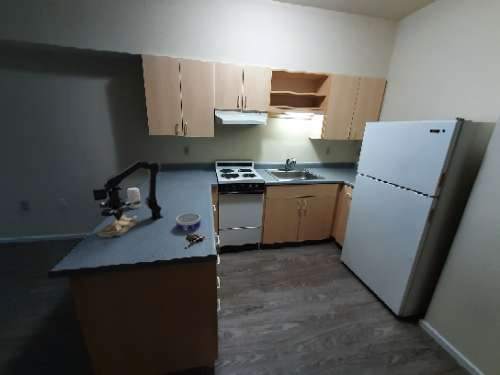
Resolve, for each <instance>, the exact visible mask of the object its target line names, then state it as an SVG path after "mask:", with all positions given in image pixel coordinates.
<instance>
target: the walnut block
mask: <svg viewBox="0 0 500 375" xmlns="http://www.w3.org/2000/svg"><path fill="white" fill-rule="evenodd" d="M101 229H102V230H103V232H112V231H117V228H116V224H111V223H109V224H108V225H106V226H104V227H103V228H101Z"/></svg>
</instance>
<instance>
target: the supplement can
mask: <svg viewBox="0 0 500 375" xmlns="http://www.w3.org/2000/svg"><path fill="white" fill-rule="evenodd" d="M126 194H127V199H128V200H127V201H129V202H130V205H129V206H128V207H129V208H130V209H139V208H141V206H142V202H141V194H140V189H139V188H138V187H129V188H127V190H126Z"/></svg>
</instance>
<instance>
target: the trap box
mask: <svg viewBox="0 0 500 375" xmlns="http://www.w3.org/2000/svg"><path fill="white" fill-rule="evenodd" d="M110 224H116V228H117V231H112V232H103V230H102V228H101V229H100V230H98V231H97V235H98V237H103V238H113V237H121V236H123V235H125V233H127V232H128V231H130V230H131V229H132V228H133V227H135V226H136V225H138V217H137V215H134V216H133V217H127V214H124V215H122V216H121V218H120V220H119V221H117V219H115V221H113V222H111V223H110Z"/></svg>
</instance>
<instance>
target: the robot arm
mask: <svg viewBox="0 0 500 375" xmlns="http://www.w3.org/2000/svg"><path fill="white" fill-rule="evenodd" d="M139 169H144V170H145V169H146V170H147V173H148V195H147V197H145V202H144V204H145V205H146V206H147V208H148V209H150V213H151V216H150V217H149V218H150V219H152V220H154V221H156V220H159V219H162V218H164V216H163V215H162V213H161V211H162V207H161V206H160V205H159V204H158V200H157V197H156V196H157V195H156V193H157V189H156V188H157V175H158V173H159V169H160V166H159V164H158V163H157V162H155V161H153V160H152V161H143V160H142V161H141V160H136V161H134V163H132V164H131V165H129V166H127V167H126V168H124V169H123V170H121V171H120V172H118V173H116V174H113V175H110V176H108V177H107V178H106V179H105V183H104V185H103V186H102V188H94V189H92V190H91V191H92V196H93V197H92V198H93V201H94V202H97V201H102V200H103V201H104V200H106V199H107V198H108V199H107V201H105V202H103V201H102V202H100V203H98V206H99V208H100V209H103V210H101V211H100V215H101V217H109V218H110V217H112V216H114V218H115V220H117V221H119V220H120V218H121V217H122V216H123V213H124V211H125V208H123V207H124V206H126V207H129V205H130V202H129V201H128V200H123V197H121V195H120V191H122V190H123V187H122V186H119V185H120V184H121V183H122V181H123V180H124V179H126V178H128V177H129V176H131V175H132V174H134V173H135V172H136V171H138V170H139Z"/></svg>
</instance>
